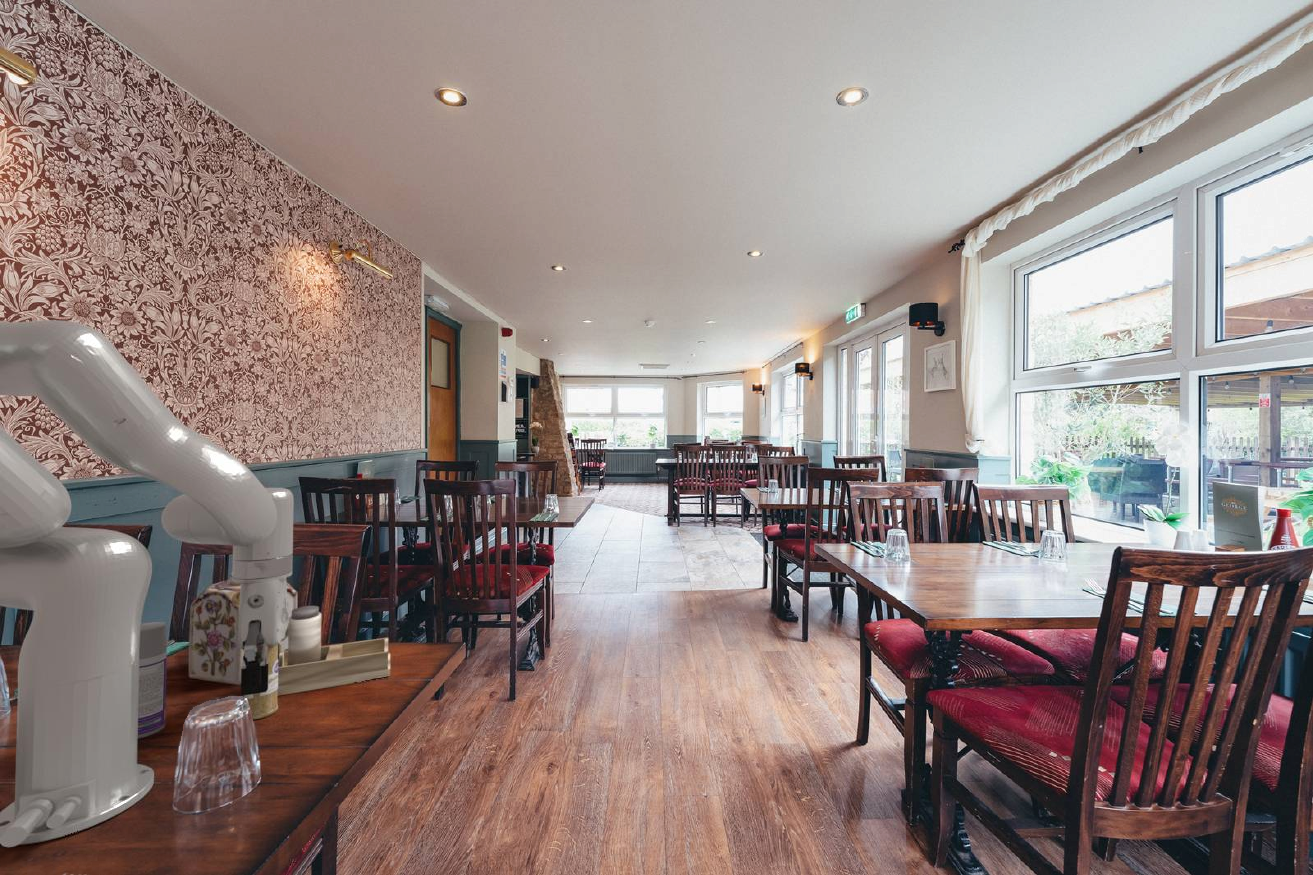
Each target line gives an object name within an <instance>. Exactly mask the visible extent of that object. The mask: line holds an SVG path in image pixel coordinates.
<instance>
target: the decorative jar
mask: <svg viewBox="0 0 1313 875" xmlns="http://www.w3.org/2000/svg"><path fill="white" fill-rule="evenodd" d="M240 587H241V583H236V582H233V581H232V572H231V573H230V574H229V579H228V580H224V581H220V582H217V583H213V584H211V585H209V586H208V587H207V588H206V589H205V590H203V591H202V592H200V593H199V595H198V596H197V597H196V598H195V599H194V600H193V601H192V603H190V611H189V612H190V613H189V636H188V637H189V640H188V677H189V678H190V679H195V680H201V681H207V682H213V683H214V682H215V683H223V684H229V685H236V686H241V668H242V660H243V654H244V650H242V649H241V648H239V643H238V620H239V600H240V598H239V596H240ZM296 608H298V591H297V590H296V589H294V587H293V586H292V585H290V583H288V582H287V614H288V627H287V630H286V632H285V634H284V636H283V638H282V639H281V641H280V642H279V643H278V644H279V654H280V652H284V651H288V632H289V617H291V616H292V610H293V609H296Z"/></svg>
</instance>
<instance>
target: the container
mask: <svg viewBox="0 0 1313 875" xmlns="http://www.w3.org/2000/svg"><path fill="white" fill-rule="evenodd" d="M167 632H168V631H167V623H166V622H164V621H151V622H144V623H141V628H140V647H139V695H138V737H137V740H138V739H142V738H146V737H149V736H151V735H154V734H156V733H159V732H160V731H162V730H163V729H164V728H165V727H166V706H167V704H166V703H167V702H166V701H167V664H168V663H167V662H168V660H167V659H168V658H167V657H168V654H167V653H168V652H167V650H168V646H167V638H168V637H167Z"/></svg>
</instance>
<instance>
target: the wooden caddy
mask: <svg viewBox="0 0 1313 875" xmlns="http://www.w3.org/2000/svg"><path fill="white" fill-rule="evenodd" d="M386 676H390V677H391V653H390V652H389V637H382V638H381V637H380V638H376V639H375V638H374V639H367V640H359V641H353V642H352V641H351V642H345V643H336V644H329V645H324V646H322V612H320V606H317V605H305V606H298V607H297V608H296V609H293V610H292V616H291V617H289V632H288V651H284V652H280V654H279V667H278V689H277V697H278V696H283V695H290V694H296V693H302V692H309V691H313V690H320V689H325V688H332V687H339V686H344V685H349V684H355V683H354V682H357V683H363V682H362V681H364V682H366V681H365V680H370V679H373V678H381V677H386ZM370 681H371V680H370Z"/></svg>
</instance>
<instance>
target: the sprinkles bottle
mask: <svg viewBox="0 0 1313 875" xmlns="http://www.w3.org/2000/svg"><path fill="white" fill-rule="evenodd" d="M260 631H261V630H260ZM262 643H264V641H261V642H258V643H257V644H262ZM257 652H260V653H261V655H262V650H257ZM268 663H269V671H268V690H267V691H266V692H263V693H257V694H251V695H244V696H243V698H244V697H246V698H247V699H248V702H249V705H250V707H251V710H252V714H253V718H254V719H253V720H259V719H260V720H261V719H263V718H266V717H269V716H271V715H273V714H274V713H275V712H277V710H279V705H278V696H277V689H278V644H277V645H276V646H273V644H271V645H268V652H267V660H266V664H268Z"/></svg>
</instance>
